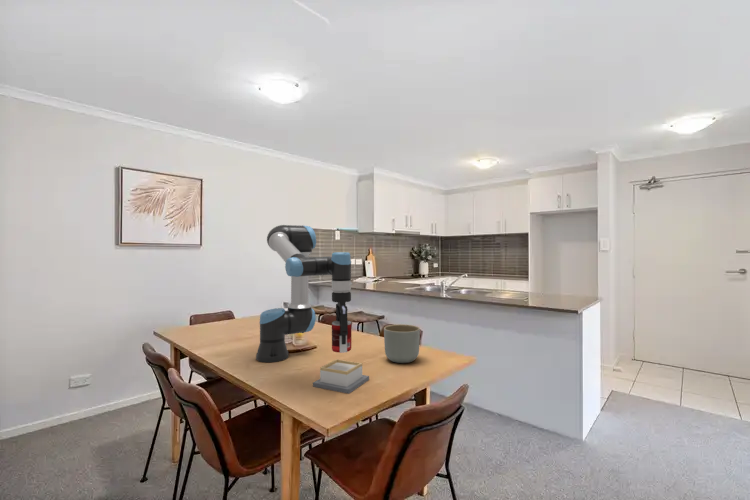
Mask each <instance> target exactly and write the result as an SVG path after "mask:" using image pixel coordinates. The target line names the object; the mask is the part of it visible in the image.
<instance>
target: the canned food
mask: <svg viewBox="0 0 750 500" xmlns="http://www.w3.org/2000/svg"><path fill="white" fill-rule="evenodd" d="M347 322H348V335H347V352H346V353H348V352H350V351H352V321H350V320H347ZM343 332H345V331H343ZM338 334H340V321H336V320H333V321H332V322H331V350H332V351H333V352H335V353H340V336H338ZM340 354H341V353H340Z"/></svg>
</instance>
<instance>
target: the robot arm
mask: <svg viewBox="0 0 750 500" xmlns="http://www.w3.org/2000/svg"><path fill="white" fill-rule="evenodd" d="M267 233H268V234H267V236H266V243H267V246H268V247H269V248H270V249H271V250H272V251H274V252H276V253H277V254H278V255H279V256H280V258H281V259H282V260H283V262H285V264H284V265H285V266H284V268H285V274H286V275H287V276H288V277H290V279H291V280H290V281H291V282H290V304H289V305H288V306H287V310H286V309H285V308H282V307H277V308H271V309H267V310H264V311H262V312H261V314H260V316H259V345H258V348H257V352H256V354H255V360H256V361H257V360H258V361H257V362H260V363H261V362H262V363H276V362H281V361H285V360H287V359H288V358H289V350H288V348H287V344H286V341H285V340H286V339H285V338H286V336H287V335H295V334H305V333H309V332H311V331H312V330H313V329H314V327H315V325H316V319H317V317H316V312H315V310H314V309H313V308H312V305H311V304H310V303H309V277H311V276H313V277H317V276H331V302H333V303H336V304H335V310H336V312H335V313H336V314H335V321H340V334H338V336H340V354H341V353H348V352H347V335H348V322H347V321H348V310H349V309H348V306H347V304H346V303H349V302H351V301H352V292H351V290H352V288H351V287H352V285H353V282H352V261H351V253H350V252H349V251H347V252H343V251H341V252H340V251H339V252H337V251H336V252H332V254H331V256H318V257H317V256H316V257H315V256H311V257H310V255H312V252H313V251H312V250H313V249H315V248H316V246H317V236H316V232H315V230H314V229H313V227H311V226H308V225H304V224H303V225H291V224H290V225H288V224H286V225H285V224H281V225H277V226H275V227H273V228H272V229H271V230H269V232H267ZM343 331H345V332H343Z"/></svg>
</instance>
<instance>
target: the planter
mask: <svg viewBox="0 0 750 500" xmlns="http://www.w3.org/2000/svg"><path fill="white" fill-rule="evenodd" d="M420 332H421V328H420V327H419V326H416V325H414V324H413V325H412V324H402V323H401V324H388V325H386V326H384V327H383V338H384V343H383V344H384V354H385V355H386V357H387V359H388V360H389V361H391V362H392V363H396V364H408V363H412V362H414V361H415V360H416V359H417V358H418V356H419V354H420V340H421V339H420V338H421V337H420V336H421V335H420Z"/></svg>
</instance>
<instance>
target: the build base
mask: <svg viewBox="0 0 750 500" xmlns="http://www.w3.org/2000/svg"><path fill="white" fill-rule="evenodd" d="M319 369H320V370H319V379H317V380H316V381H314V382H312V387H313V388H317V389H323V390H329V391H333V392H338V393H344V394H351V393H352V392H353V391H355V390H357V389H358V388H360V387H361V386H362V385H364V384H365V383H367V382H369V380H370V375H365V374H363V363H362V362H358V361H351V360H345V359H337V358H336V359H334V360H332V361H331V362H328V363H326V364H324V365H322V366H321V367H320V368H319Z"/></svg>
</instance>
